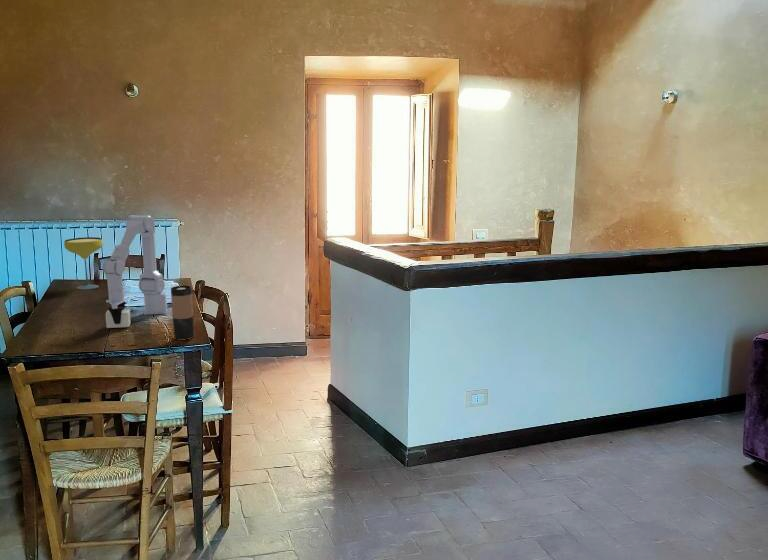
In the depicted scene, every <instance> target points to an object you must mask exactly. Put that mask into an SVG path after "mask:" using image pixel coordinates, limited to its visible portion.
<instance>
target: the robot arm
mask: <svg viewBox="0 0 768 560" xmlns="http://www.w3.org/2000/svg"><path fill="white" fill-rule="evenodd" d="M155 225H156V224H155V219H154V218H153V217H152V216H151V215H134V214H130V215H128V216H127V219H126V221H125V228H126V229H125V232H124V234H123V237H122V239H121V242H120V243H119V244H117V245H116V246H115V247H114V249H113V252H112V254H111V256H110V257H109V259H108V260H107V261H105V262H104V264H103V267H102V272H103V274H104V275H105V278H106V281H107V291H108V299H106V300H105V303H107V304H108V303H109V304H110V305H111V306H108V307H107V308H108V309H107V311H108V310H109V311H110V313H111V315H112V317H113V321H114V323H115V324H120V322H121V313H122V310H123V309H125V306H126V303H127V302H126V301H125V296H124V295H125V293H124V284H123V273H124V272H125V269H126V260H127V259H128V257H129V254H130V246H131V244H132V243H133V242H134V240H135V238H136V236H137V235H140V237H141V245H142V260H143V261H142V262H143V263H142V265H143V272H142V273H140V275H139V281H138V288H139V290H140V291H141V293H142V294H143V300H144V312H143V315H144V316H146V315H161V314H162V315H165V314H167V311H168V303H167V293H166V292H164V290H165V286H166V285H165V281H164V278H163V274H162V273H160V272H159V271H158V270H157V255H156V238H155V237H156V236H155V234H156V228H155V227H156V226H155Z"/></svg>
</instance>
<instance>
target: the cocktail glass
mask: <svg viewBox="0 0 768 560" xmlns="http://www.w3.org/2000/svg"><path fill="white" fill-rule="evenodd" d="M63 246H64V249H66V250H67V252H70V253H73V254H75V255H77V256H79V257H80V258H82V259H83V260H84V268H85V269H84V270H85V284H83V285H80V286H79V285H78V286H77V287H76V290H80V291H81V290H82V291H85V290H86V291H87V290H95V289H98V288H99V287H100V285H97V284H90V282H89V277H88V270H87V259H88V258H89V257H90V255H92V254H93V253H96V252H97V251H99V250H100V249H101V248H102V246H103V238H102V237H97V236H96V237H91V236H90V237H87V236H86V237H76V238H69V239H65V240H64V241H63Z"/></svg>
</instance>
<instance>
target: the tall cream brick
mask: <svg viewBox="0 0 768 560" xmlns="http://www.w3.org/2000/svg"><path fill="white" fill-rule="evenodd" d="M105 322H106V329H112V328H115V329H116V328H117V329H118V328H128V327H130V326H131V309H130V308H126V309H125V308H124V309H123V310H122V313H121V322H120V324H115V323H114V321H113V317H112V315H111V313H110V311H109V310H108V309H107V310H106V312H105Z"/></svg>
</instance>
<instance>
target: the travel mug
mask: <svg viewBox="0 0 768 560" xmlns="http://www.w3.org/2000/svg"><path fill="white" fill-rule="evenodd" d="M192 293H193V292H192V286H190V285H177V286H176V285H175V286H172V287H171V288H170V297H171V299H170V300H171V311H172V312H171V313H172V314H171V315H172V325H173V334H174V339H175V338H176V339H187V338H191V337H193V336H194V337H195V333H194V332H195V330H194V329H195V328H194V327H195V326H194V325H195V324H194V309H193V296H192V295H193V294H192ZM176 339H175V340H176Z"/></svg>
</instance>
